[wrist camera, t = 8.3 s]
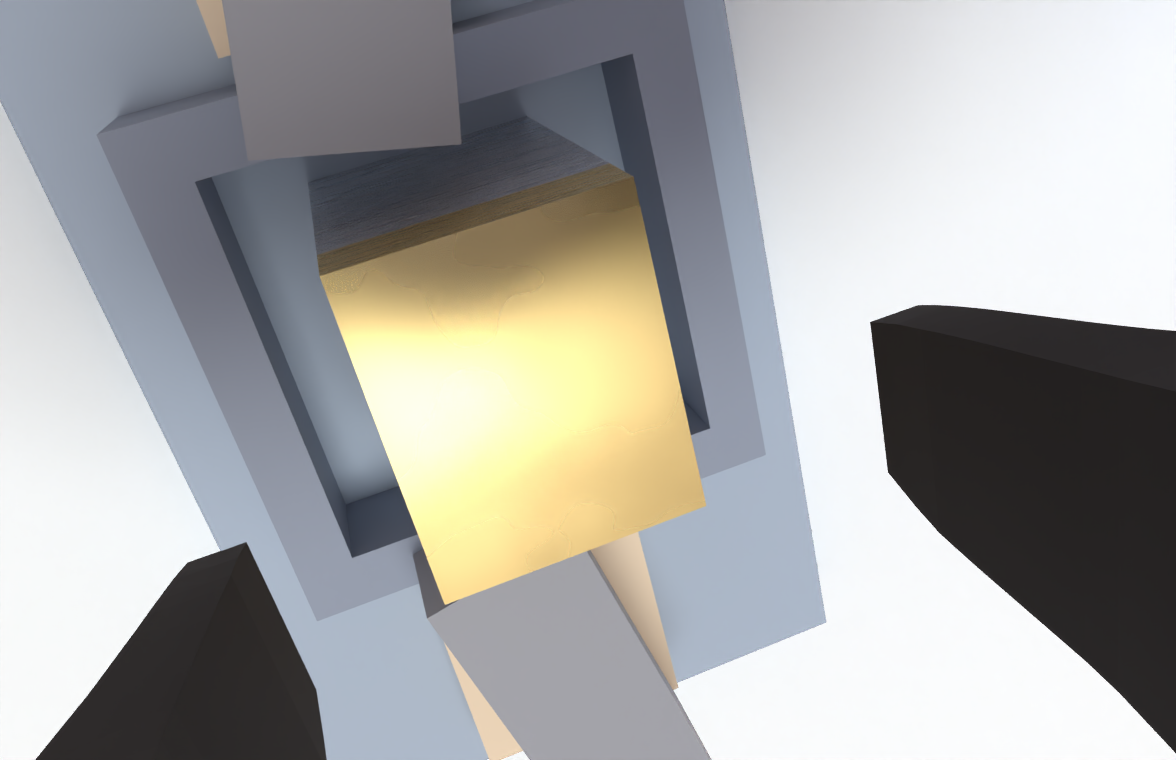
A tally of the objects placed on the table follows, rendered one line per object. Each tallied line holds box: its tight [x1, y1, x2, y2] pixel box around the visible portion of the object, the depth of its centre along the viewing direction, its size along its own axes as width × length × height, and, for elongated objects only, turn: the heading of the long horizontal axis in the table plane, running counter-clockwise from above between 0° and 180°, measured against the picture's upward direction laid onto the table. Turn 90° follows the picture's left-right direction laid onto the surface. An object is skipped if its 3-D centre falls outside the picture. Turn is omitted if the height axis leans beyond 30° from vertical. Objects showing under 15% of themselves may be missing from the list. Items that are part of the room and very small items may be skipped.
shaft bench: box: [0, 0, 826, 760], centre depth 17 cm, size 12×22×5 cm, turn 14°
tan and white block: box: [308, 116, 706, 605], centre depth 16 cm, size 5×4×6 cm
